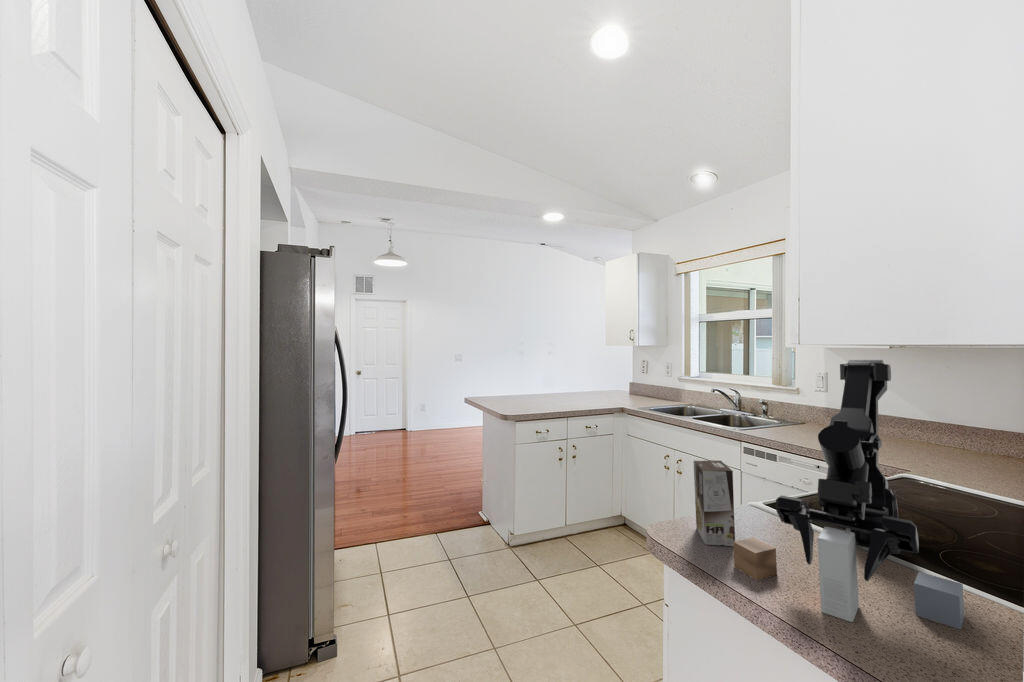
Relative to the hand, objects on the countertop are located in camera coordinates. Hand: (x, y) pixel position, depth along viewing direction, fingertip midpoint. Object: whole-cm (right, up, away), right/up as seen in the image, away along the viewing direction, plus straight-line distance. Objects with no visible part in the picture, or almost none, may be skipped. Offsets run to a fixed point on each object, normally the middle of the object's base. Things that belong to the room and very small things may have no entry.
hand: (836, 571), depth 69 cm
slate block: (+15, -6, -1) cm, 16 cm away
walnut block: (-5, -7, +13) cm, 16 cm away
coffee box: (-6, -7, +28) cm, 30 cm away
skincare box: (+1, -7, +1) cm, 7 cm away
